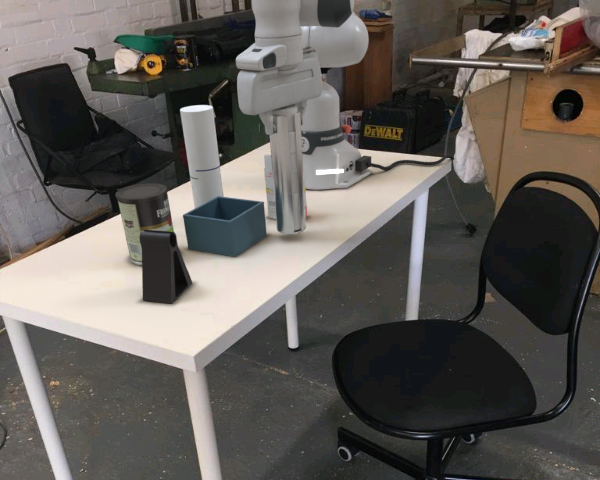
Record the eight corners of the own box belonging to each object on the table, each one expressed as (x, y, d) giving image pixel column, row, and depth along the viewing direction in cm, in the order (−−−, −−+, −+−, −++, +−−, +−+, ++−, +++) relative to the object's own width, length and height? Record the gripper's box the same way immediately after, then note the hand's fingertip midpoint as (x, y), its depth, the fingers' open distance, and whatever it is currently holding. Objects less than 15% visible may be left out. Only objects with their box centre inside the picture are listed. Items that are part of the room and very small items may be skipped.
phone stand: (165, 281, 127) (154, 221, 120) (192, 283, 125) (182, 223, 118) (142, 301, 120) (129, 239, 113) (171, 304, 118) (159, 242, 111)
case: (222, 228, 149) (217, 195, 145) (266, 235, 144) (263, 201, 140) (188, 249, 140) (182, 214, 136) (234, 256, 135) (230, 221, 131)
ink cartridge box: (308, 216, 152) (305, 152, 144) (296, 223, 149) (292, 158, 141) (279, 211, 157) (274, 149, 148) (267, 217, 154) (261, 154, 145)
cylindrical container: (221, 225, 151) (206, 111, 136) (192, 225, 152) (175, 112, 138) (230, 215, 156) (216, 104, 142) (202, 214, 158) (186, 105, 143)
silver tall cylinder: (275, 234, 139) (265, 111, 124) (278, 223, 144) (268, 103, 129) (305, 233, 138) (299, 109, 124) (306, 222, 144) (300, 102, 129)
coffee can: (184, 247, 141) (173, 182, 133) (169, 266, 133) (156, 198, 125) (140, 246, 143) (126, 182, 135) (122, 265, 134) (107, 198, 126)
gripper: (304, 43, 129) (308, 117, 137) (228, 59, 117) (237, 139, 125) (328, 45, 125) (330, 120, 133) (252, 62, 114) (259, 143, 122)
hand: (284, 129), depth 129 cm, fingers closed on silver tall cylinder, 6 cm apart
